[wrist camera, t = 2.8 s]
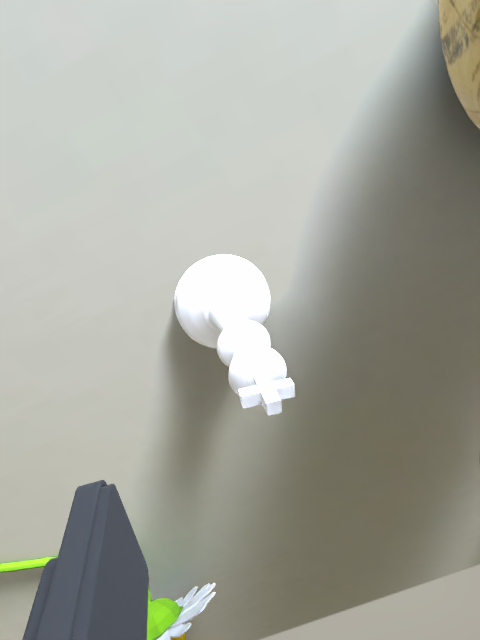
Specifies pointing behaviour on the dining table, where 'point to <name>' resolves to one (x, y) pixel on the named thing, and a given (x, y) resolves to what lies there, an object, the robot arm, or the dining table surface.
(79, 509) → the robot arm
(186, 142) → the dining table surface
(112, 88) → the dining table surface
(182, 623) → the decorative flower
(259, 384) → the chess piece
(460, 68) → the ceramic bowl
